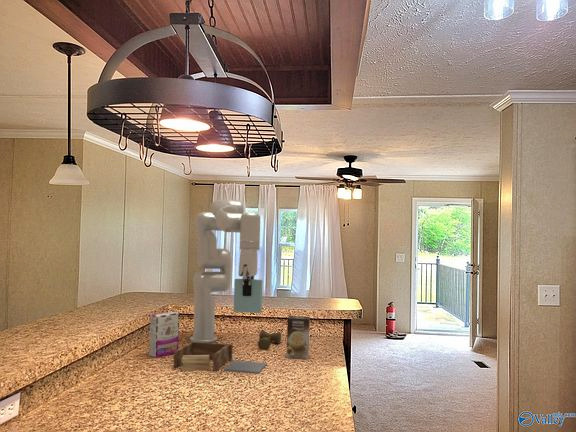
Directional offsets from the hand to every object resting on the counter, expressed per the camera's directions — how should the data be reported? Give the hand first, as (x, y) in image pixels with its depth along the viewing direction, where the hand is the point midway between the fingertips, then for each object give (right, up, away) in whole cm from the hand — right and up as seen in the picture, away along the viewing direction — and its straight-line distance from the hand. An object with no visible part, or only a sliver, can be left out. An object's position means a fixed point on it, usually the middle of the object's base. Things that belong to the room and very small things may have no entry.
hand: (248, 294), depth 171 cm
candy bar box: (-36, -27, +14) cm, 47 cm away
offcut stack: (-19, -26, -4) cm, 33 cm away
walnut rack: (-17, -26, +2) cm, 32 cm away
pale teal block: (0, -6, 0) cm, 6 cm away
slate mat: (-1, -27, -1) cm, 27 cm away
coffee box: (+19, -28, +16) cm, 38 cm away
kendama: (+6, -29, +36) cm, 47 cm away
